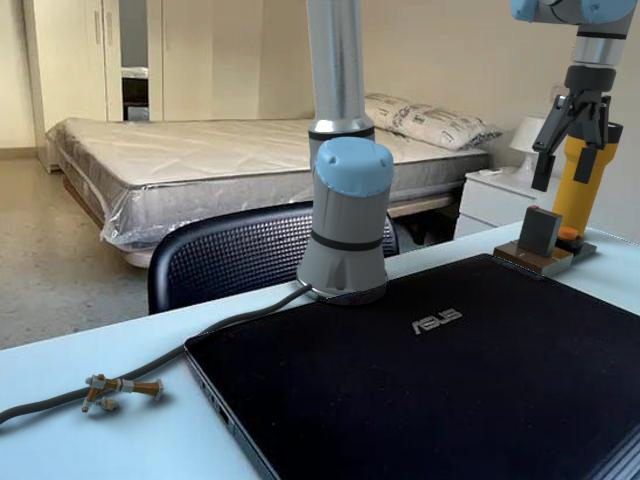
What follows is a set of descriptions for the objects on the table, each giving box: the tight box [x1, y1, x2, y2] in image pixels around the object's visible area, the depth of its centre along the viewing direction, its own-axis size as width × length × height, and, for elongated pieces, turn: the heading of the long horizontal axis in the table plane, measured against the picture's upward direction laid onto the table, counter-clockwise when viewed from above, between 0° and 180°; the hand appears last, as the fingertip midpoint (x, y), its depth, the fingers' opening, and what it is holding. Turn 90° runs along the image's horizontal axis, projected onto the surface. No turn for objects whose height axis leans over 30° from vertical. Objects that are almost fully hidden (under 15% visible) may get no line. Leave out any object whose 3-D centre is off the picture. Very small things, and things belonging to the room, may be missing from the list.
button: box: [557, 227, 578, 240], centre depth 104 cm, size 4×4×2 cm
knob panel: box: [492, 238, 574, 279], centre depth 97 cm, size 12×10×3 cm
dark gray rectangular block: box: [517, 204, 563, 257], centre depth 95 cm, size 6×2×8 cm, turn 39°
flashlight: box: [551, 121, 624, 238], centre depth 111 cm, size 10×26×10 cm
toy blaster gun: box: [81, 373, 165, 414], centre depth 53 cm, size 2×8×4 cm, turn 118°
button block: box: [554, 234, 598, 266], centre depth 105 cm, size 11×9×4 cm
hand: (560, 186), depth 93 cm, fingers open, 13 cm apart
